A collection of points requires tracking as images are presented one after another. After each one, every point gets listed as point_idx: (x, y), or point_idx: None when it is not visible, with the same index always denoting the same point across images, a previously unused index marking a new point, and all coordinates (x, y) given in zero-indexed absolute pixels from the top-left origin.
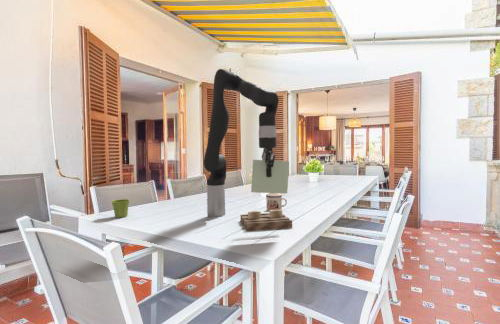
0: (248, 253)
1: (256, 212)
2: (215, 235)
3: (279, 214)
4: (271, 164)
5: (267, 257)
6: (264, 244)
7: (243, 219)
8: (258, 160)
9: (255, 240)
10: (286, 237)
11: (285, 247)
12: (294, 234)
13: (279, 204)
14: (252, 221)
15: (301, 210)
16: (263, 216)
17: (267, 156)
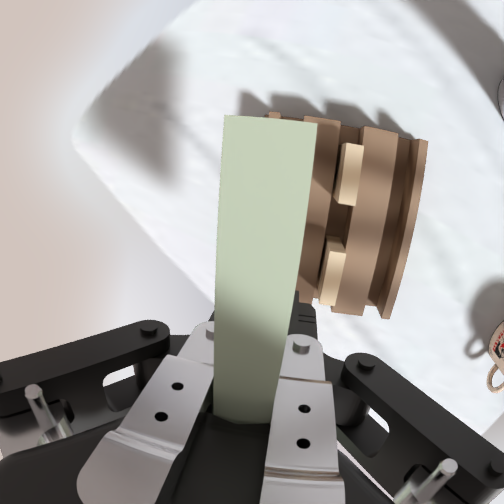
0: (106, 87)
1: (341, 181)
2: (294, 18)
3: (320, 285)
4: (136, 383)
5: (75, 127)
6: (150, 142)
7: (362, 128)
8: (217, 262)
9: (193, 125)
10: (190, 231)
11: (115, 190)
12: (212, 269)
13: (498, 362)
14: None
15: (453, 406)
16: (359, 222)
17: (80, 434)
